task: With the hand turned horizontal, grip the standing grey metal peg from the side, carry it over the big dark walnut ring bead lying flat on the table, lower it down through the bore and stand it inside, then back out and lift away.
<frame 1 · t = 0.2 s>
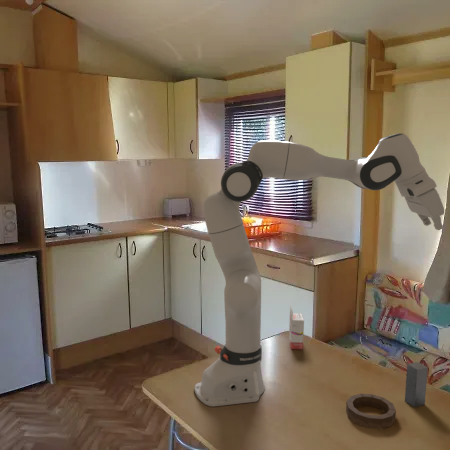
hand: (433, 226, 139), 53 cm above the table, tool tilted 25°, fingers open, 8 cm apart
ink cartridge box: (296, 345, 186), on the table
walnut ring: (370, 415, 137), on the table
metal peg: (414, 402, 144), on the table
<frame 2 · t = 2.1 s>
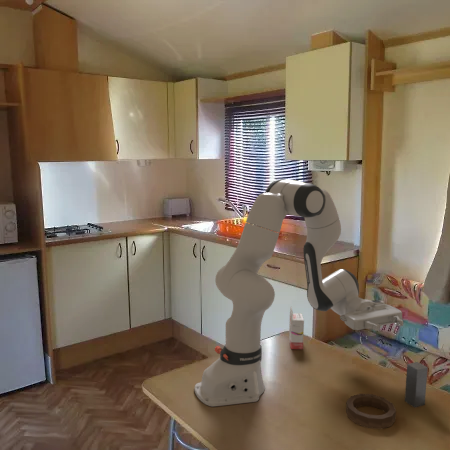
hand: (390, 326, 151), 20 cm above the table, tool horizontal, fingers open, 8 cm apart
nothing on the table moved.
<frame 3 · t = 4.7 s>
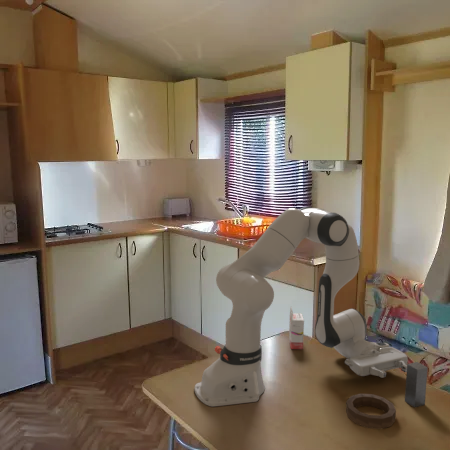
hand: (396, 372, 150), 6 cm above the table, tool horizontal, fingers open, 8 cm apart
nothing on the table moved.
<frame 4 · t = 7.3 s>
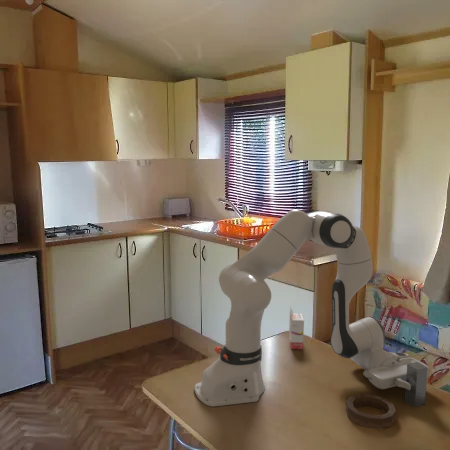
hand: (418, 385, 142), 6 cm above the table, tool horizontal, fingers closed on metal peg, 4 cm apart
metal peg: (414, 402, 144), on the table, touching gripper
everything else where it was.
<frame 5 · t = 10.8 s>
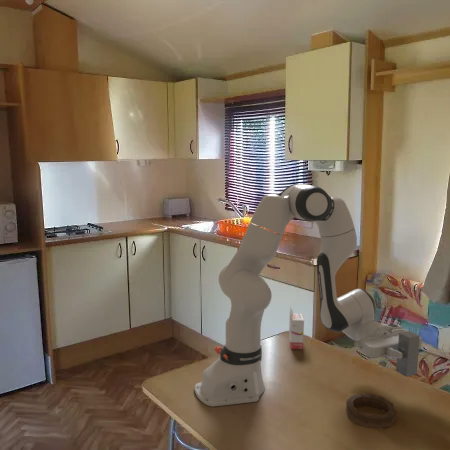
hand: (410, 354, 139), 17 cm above the table, tool horizontal, fingers closed on metal peg, 4 cm apart
metal peg: (406, 372, 140), point 11 cm above the table, touching gripper
everything else where it was.
when the fingers open (7 cm above the table, at t = 14.6 s): metal peg drops 1 cm, resting in walnut ring.
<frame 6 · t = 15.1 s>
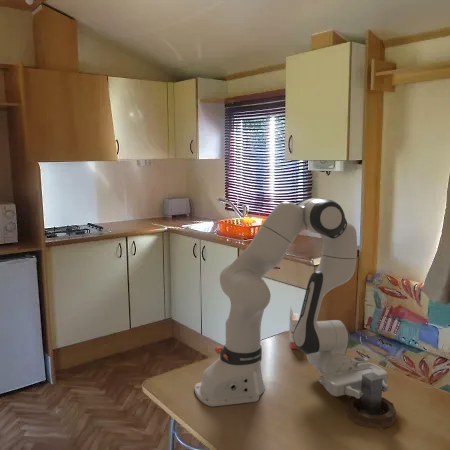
hand: (373, 392, 135), 7 cm above the table, tool horizontal, fingers open, 8 cm apart
metal peg: (370, 415, 137), resting in walnut ring
everything else where it was.
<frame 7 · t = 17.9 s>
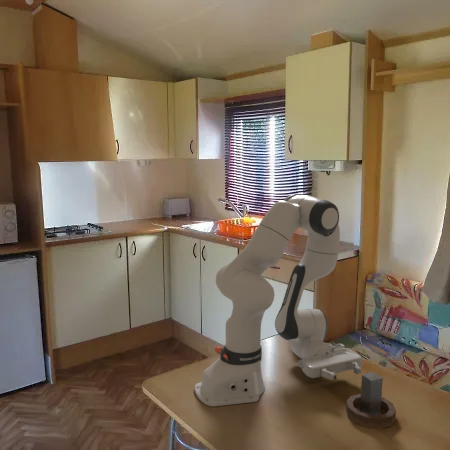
hand: (347, 374, 146), 7 cm above the table, tool horizontal, fingers open, 8 cm apart
nothing on the table moved.
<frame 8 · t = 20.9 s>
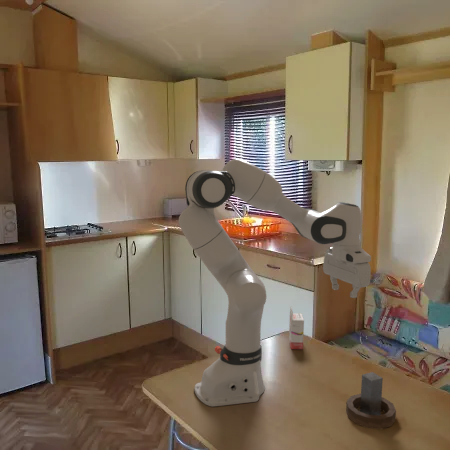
hand: (344, 293, 156), 29 cm above the table, tool pointing down, fingers open, 8 cm apart
nothing on the table moved.
at the end: metal peg 0.0 cm off-centre on the walnut ring, point 0.0 cm above the walnut ring's base; metal peg tilted 0°; the gripper is holding nothing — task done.
